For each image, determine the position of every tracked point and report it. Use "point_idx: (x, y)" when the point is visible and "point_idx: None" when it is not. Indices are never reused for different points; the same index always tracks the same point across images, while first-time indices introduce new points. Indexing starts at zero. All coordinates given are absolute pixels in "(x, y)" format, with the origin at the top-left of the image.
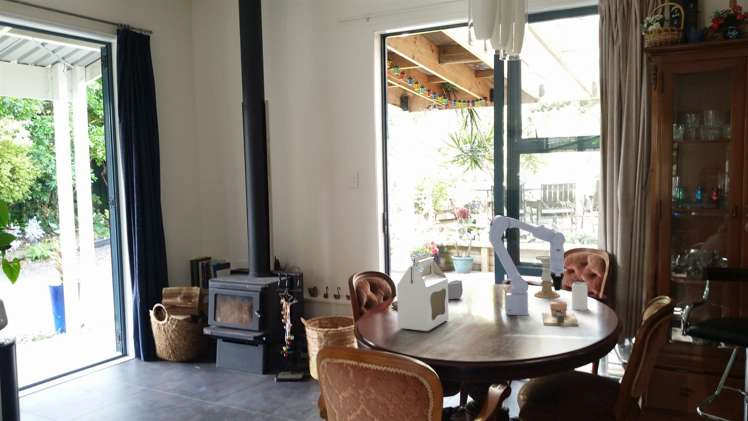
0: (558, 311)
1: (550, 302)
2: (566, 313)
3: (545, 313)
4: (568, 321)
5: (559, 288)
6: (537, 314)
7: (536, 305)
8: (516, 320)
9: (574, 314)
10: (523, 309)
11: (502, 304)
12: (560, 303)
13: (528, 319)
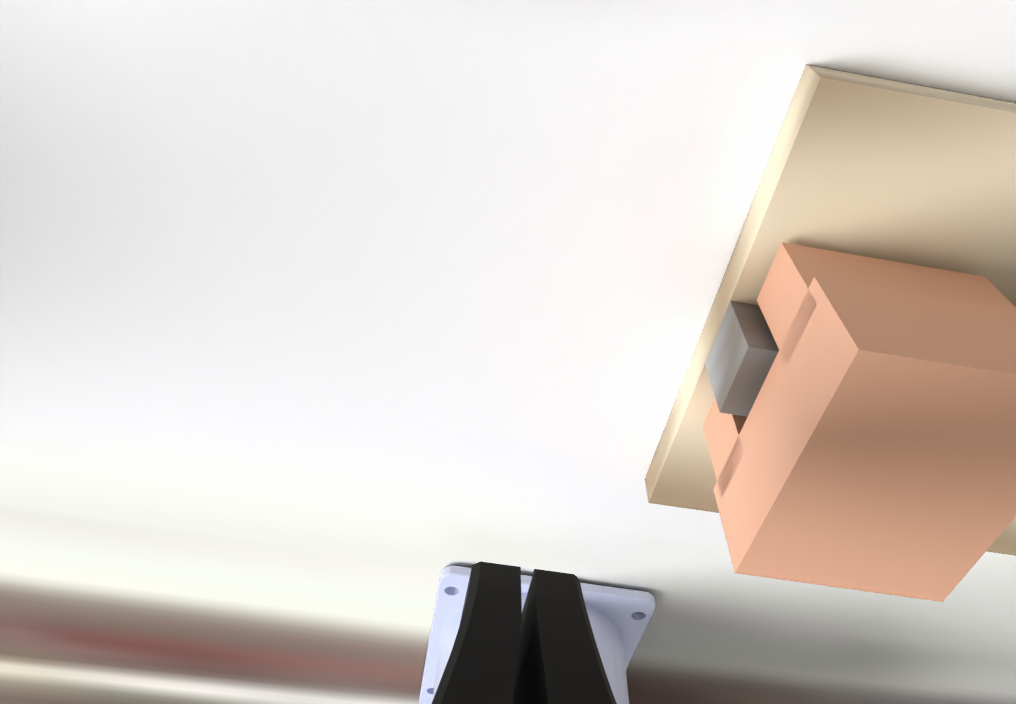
0: None
1: (819, 583)
2: (769, 214)
3: (707, 480)
4: None
5: (590, 640)
6: (607, 515)
7: (38, 434)
8: (850, 694)
9: (891, 91)
10: (625, 681)
11: (115, 686)
12: (968, 472)
13: (840, 619)
